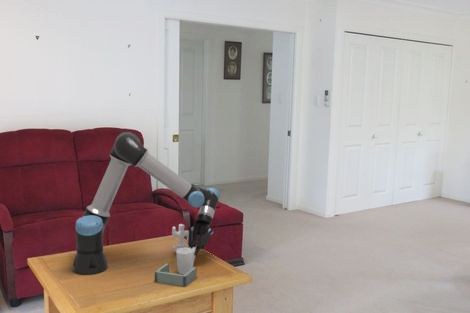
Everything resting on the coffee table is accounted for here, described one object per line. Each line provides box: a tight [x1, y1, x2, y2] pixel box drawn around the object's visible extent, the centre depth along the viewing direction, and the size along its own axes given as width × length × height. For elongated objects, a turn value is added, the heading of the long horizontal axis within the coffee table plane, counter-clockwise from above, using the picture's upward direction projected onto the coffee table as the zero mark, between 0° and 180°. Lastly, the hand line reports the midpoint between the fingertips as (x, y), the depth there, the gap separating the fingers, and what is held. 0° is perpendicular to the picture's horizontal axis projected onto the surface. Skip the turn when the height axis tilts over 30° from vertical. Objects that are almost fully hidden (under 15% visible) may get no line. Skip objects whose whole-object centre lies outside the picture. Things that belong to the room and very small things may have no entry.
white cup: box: [175, 248, 195, 275], centre depth 215 cm, size 8×8×10 cm
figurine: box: [171, 223, 190, 253], centre depth 239 cm, size 7×9×15 cm
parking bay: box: [154, 262, 197, 288], centre depth 206 cm, size 14×11×4 cm
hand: (191, 261), depth 219 cm, fingers closed
